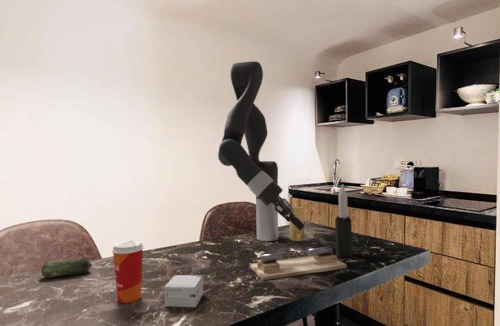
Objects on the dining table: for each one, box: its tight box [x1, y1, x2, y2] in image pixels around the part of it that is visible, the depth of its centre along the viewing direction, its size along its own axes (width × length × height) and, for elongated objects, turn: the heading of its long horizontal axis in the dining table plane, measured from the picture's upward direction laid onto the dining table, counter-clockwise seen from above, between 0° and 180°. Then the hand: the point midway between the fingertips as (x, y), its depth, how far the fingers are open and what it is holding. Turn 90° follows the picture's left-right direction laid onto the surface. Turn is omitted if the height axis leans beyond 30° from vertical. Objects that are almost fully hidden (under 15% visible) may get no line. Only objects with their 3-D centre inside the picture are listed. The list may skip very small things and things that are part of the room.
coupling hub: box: [288, 205, 305, 242], centre depth 103 cm, size 5×5×10 cm
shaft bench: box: [249, 253, 348, 281], centre depth 104 cm, size 12×28×3 cm, turn 108°
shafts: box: [260, 246, 333, 263], centre depth 103 cm, size 2×24×2 cm, turn 108°
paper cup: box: [111, 240, 145, 304], centre depth 83 cm, size 8×8×14 cm
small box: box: [164, 274, 204, 308], centre depth 82 cm, size 8×8×5 cm
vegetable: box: [41, 257, 93, 279], centre depth 101 cm, size 14×5×5 cm, turn 110°
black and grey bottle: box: [334, 184, 353, 258], centre depth 116 cm, size 5×5×25 cm
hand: (302, 226), depth 103 cm, fingers closed on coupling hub, 4 cm apart
